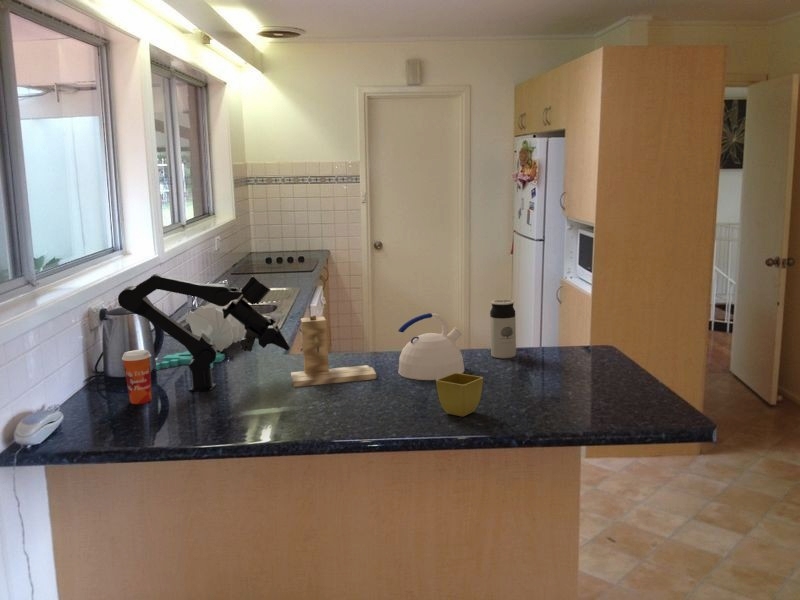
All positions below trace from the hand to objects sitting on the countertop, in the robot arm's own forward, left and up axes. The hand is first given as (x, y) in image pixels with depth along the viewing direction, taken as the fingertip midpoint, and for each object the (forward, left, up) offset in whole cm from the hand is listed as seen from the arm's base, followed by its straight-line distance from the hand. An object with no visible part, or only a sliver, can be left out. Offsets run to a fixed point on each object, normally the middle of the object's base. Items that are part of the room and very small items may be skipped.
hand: (288, 349), depth 221 cm
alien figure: (+25, +39, -10) cm, 47 cm away
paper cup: (-18, +39, -10) cm, 44 cm away
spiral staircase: (+46, +35, -10) cm, 59 cm away
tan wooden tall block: (-3, -9, -8) cm, 12 cm away
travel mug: (+22, -65, -10) cm, 70 cm away
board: (0, -13, -9) cm, 16 cm away
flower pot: (-34, -50, -10) cm, 61 cm away
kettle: (+6, -42, -10) cm, 44 cm away
